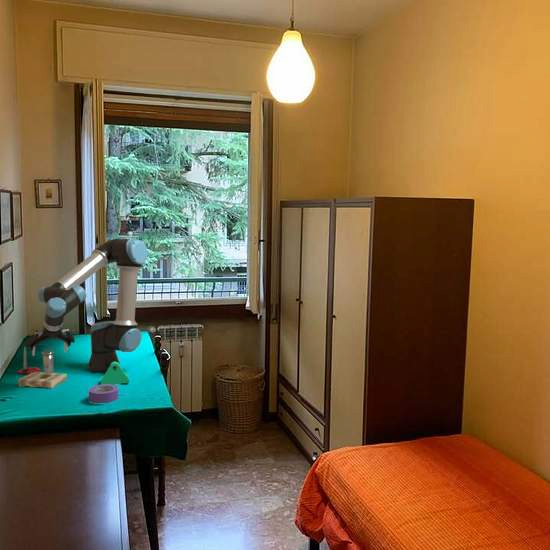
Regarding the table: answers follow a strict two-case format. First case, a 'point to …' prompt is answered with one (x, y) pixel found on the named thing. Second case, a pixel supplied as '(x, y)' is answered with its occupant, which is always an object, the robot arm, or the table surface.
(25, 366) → the tow hook
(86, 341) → the table surface
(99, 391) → the tape roll
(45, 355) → the domed cap cylinder
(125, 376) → the green triangle
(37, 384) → the jig
